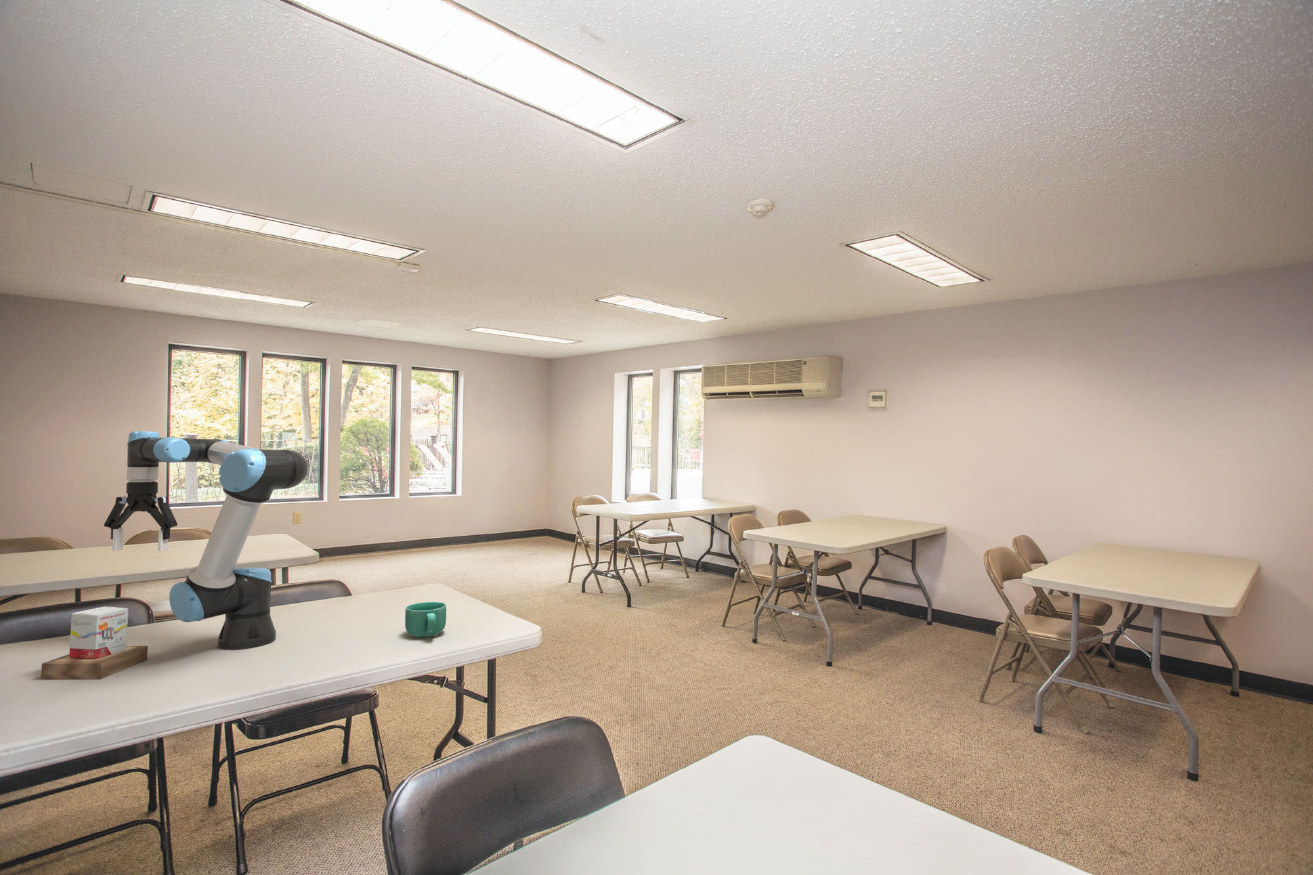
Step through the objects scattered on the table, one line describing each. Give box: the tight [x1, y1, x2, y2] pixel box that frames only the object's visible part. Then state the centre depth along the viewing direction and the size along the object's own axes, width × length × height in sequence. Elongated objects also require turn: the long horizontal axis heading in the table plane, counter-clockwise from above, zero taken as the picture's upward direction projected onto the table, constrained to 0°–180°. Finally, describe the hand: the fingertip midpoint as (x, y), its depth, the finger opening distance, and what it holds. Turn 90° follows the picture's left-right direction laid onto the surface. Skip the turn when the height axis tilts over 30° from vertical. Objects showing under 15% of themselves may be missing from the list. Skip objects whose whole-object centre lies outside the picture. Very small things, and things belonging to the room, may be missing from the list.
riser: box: [40, 645, 149, 680], centre depth 166 cm, size 15×15×4 cm
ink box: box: [69, 606, 129, 659], centre depth 166 cm, size 9×9×12 cm
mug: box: [404, 601, 447, 639], centre depth 198 cm, size 17×13×10 cm
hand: (140, 550), depth 189 cm, fingers open, 13 cm apart
